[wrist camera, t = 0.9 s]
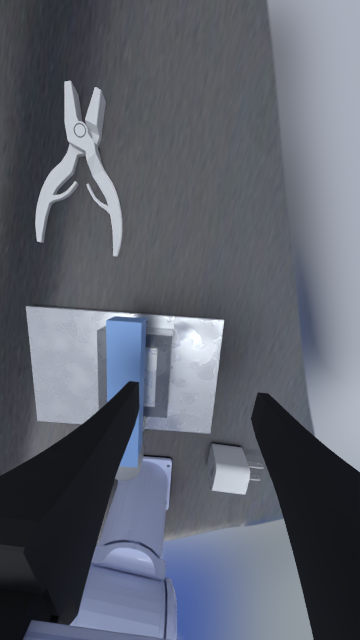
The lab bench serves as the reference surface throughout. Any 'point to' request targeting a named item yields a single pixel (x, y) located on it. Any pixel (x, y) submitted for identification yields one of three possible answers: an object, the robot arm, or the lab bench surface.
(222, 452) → the usb wall charger
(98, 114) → the pliers
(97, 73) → the lab bench surface
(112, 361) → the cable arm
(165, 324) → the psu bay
